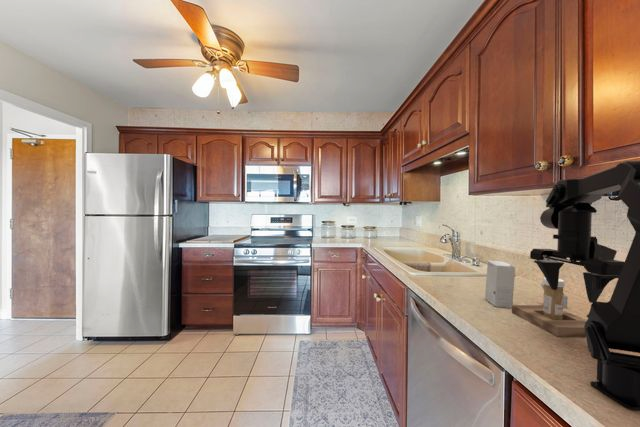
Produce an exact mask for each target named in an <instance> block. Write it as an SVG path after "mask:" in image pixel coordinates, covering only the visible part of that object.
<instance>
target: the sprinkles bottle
mask: <svg viewBox="0 0 640 427" xmlns="http://www.w3.org/2000/svg"><path fill="white" fill-rule="evenodd" d="M543 283H544V289H543V300H542V301H543V303H542V305H543V311H544V315H543V316H545V317H547V318H550V319H552V320H563V319H562V318H563V310H564V308H563V293H564V288H565V280H563V279H561V278H559V280H558V287H557V290H552V289H551V287H550V285H549V283H548V282H547V280H546V278H545V277H543Z"/></svg>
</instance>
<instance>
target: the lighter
mask: <svg viewBox="0 0 640 427" xmlns="http://www.w3.org/2000/svg"><path fill="white" fill-rule="evenodd" d="M540 286H541V287H542V289H543V290H544V282H540ZM568 298H569V297H568V295H566V294H565V292H563V309H565V308H566V309H568ZM566 309H565V310H566Z"/></svg>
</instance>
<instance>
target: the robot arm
mask: <svg viewBox="0 0 640 427" xmlns="http://www.w3.org/2000/svg"><path fill="white" fill-rule="evenodd" d="M618 191H619V192H618ZM613 192H618V195H617V197H618V198H619V199H620V200H621V202H622V203H624V204H625V206H626V207H627V212H626V218H627V219H628V221H629V223H630V225H631V226H632V228H633V230H634V231H635V233H634V236H633V239H632V241H631V245H630V246H629V249H628V252H627V255H626V257H625V260H624V261H622V260H616V259H615V258H616V254H617V253H618V252H617V250H616V249H613V248H610V247H608V246H605V245H602V244H600V243H598V238H597V236H593V235H592V217H593V216H592V215H593V213H594V214H596V213H597V211H598V210H597V209H596V208H595V207H594V206H592V204H593V203H595V202H597V201H600V200H601V199H602V198H603V195H606V194H609V193H613ZM545 203H546V205H545V206H546V208H547V209H545V210H544V211H543V212H541V214H540V217H539V220H540V223H541V225H543V226H544V227H545V228H548V229H551V230H557V234H552V239H554V240H557V245H556V246H557V249H552V248H532V249H531V251H530V253H529V254H530V256H529V257H530V259H531V260H533V263H535V264H536V265H537V266H538V268H539V269H540V271H541V272H542V275H543V276H544V278H546V280H547V282H548V283H549V285H550V287H551V289H552V290H557V287H558V280H559V279H560V278H559V277H560V269H561V268H562V267H563V266H564V264H565V263H566V264H570V265H576V266H579V267H583V268H584V269H585V270H586V272H584V271H583V272H582V276H583V280H584V281H583V282H584V286H585V290H586V296H587V299H588V302H589V303H590V309H589V312H588V314H587V315H586V318H587V319H586V320H587V321H586V323H585V326H584V328H585V334H586V337H585V339H586V344H587V349H588V352H589V353H590V357H591V358H592V359H594V360H596V380H595V381H590V385H591V386H592V387H593V388H595V389H596V390H598V391H599V392H602V393H603V394H605V395H606V396H608V397H610V398H611V399H613V401H615V402H617V403H619V404H621V405H622V406H623V407H625V408H627V409H629V410H635V411H636V410H637V411H640V355H638V354H640V160H628V161H624V162H619V163H618V164H616V165H615V166H613V167H610V168H608V169H605V170H601V171H600V172H596V173H595V174H591V175H588V176H586V177H583V178H582V177H581V178H570V179H569V178H567V179H559V180H558V181H556V183H555V184H554V185H553V187H552V189H551V191H550V192H549V193H548V196H547V197H546V200H545ZM615 279H617V281H616V283H615V287H614V289H613V292H612V294H611V297H610V299H609V301H607V302H606V301H598V299H599V298H600V296H601V294H602V293H603V291H604V289H605V288H606V287H607V285H608V284H609V283H610V282H612V281H613V280H615ZM610 350H616V351H617V350H618V351H623V352H629V353H637V355H635V354H629V353H623V352H616V351H610Z"/></svg>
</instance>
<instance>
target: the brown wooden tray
mask: <svg viewBox="0 0 640 427" xmlns="http://www.w3.org/2000/svg"><path fill="white" fill-rule="evenodd" d="M511 313H512V314H514V315H515V316H518V317H520V318H521V319H523V320H525V321H528V322H529V323H531V324H532V325H535V326H536V327H538V328H539V329H542V330H544V331H546V332H548V333H550V334H552V335H553V336H556V337H557V338H558V337H559V338H560V337H561V338H562V337H564V338H568V337H570V338H571V337H572V338H573V337H574V338H578V337H579V338H586V334H585V328H584V326H585V323H586V321H587V320H588V319H585V318H582V317H581V316H578V315H575V314H574V313H571V312H569V311H566V310H564V309H563V318H562V319H563V320H552V319H550V318H547V317H545V316H543V315H544V311H543V304H541V305H540V304H539V305H538V304H513V305H512V308H511Z"/></svg>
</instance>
